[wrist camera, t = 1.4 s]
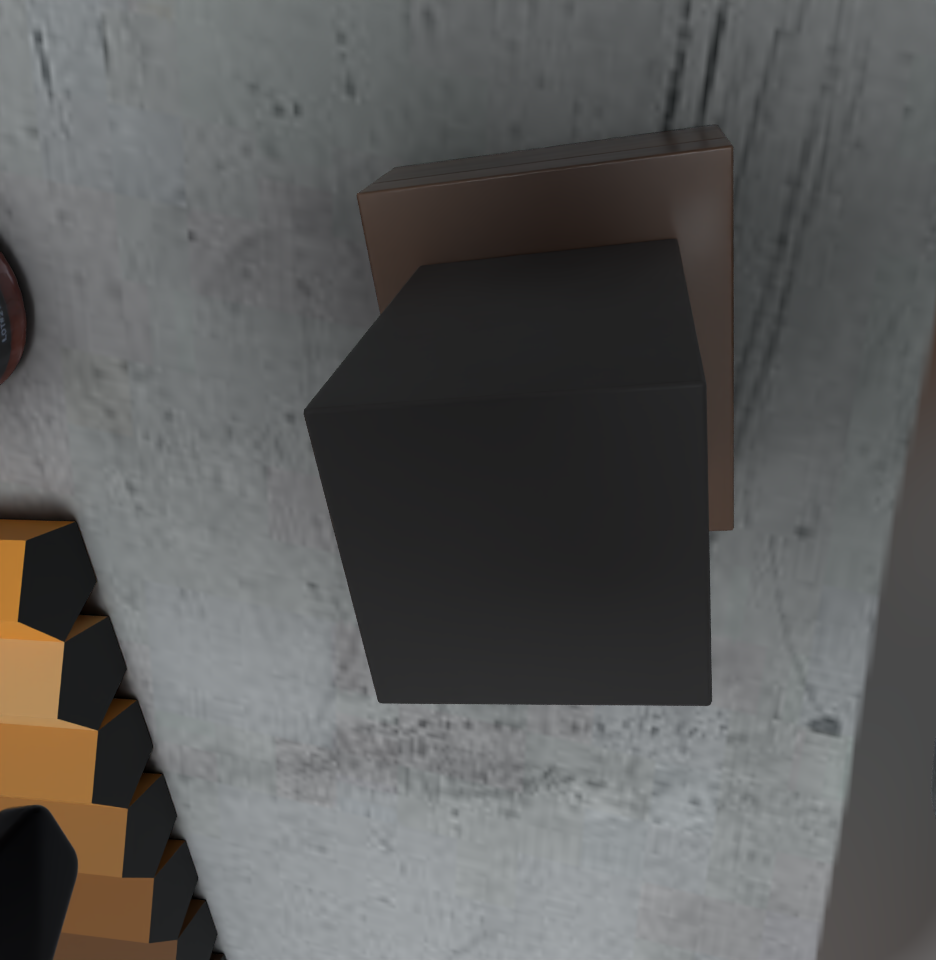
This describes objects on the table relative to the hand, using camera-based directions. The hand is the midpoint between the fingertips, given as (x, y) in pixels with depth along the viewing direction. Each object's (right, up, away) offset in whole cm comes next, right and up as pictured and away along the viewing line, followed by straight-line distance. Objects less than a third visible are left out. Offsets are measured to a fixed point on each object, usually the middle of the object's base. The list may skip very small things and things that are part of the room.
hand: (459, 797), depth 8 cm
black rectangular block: (+2, +5, +9) cm, 11 cm away
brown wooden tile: (+2, +7, +12) cm, 14 cm away
